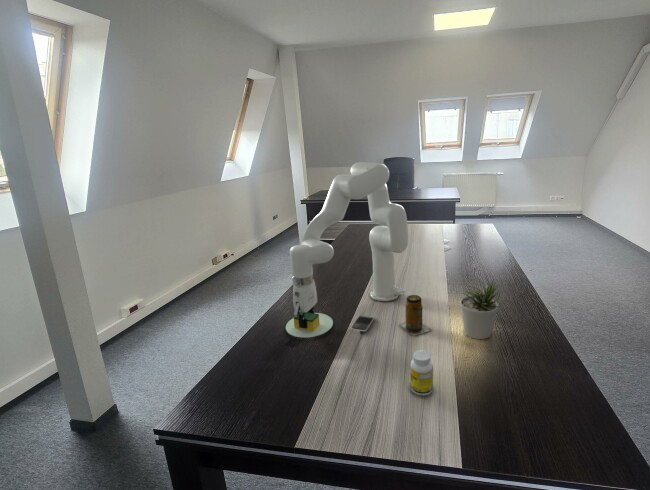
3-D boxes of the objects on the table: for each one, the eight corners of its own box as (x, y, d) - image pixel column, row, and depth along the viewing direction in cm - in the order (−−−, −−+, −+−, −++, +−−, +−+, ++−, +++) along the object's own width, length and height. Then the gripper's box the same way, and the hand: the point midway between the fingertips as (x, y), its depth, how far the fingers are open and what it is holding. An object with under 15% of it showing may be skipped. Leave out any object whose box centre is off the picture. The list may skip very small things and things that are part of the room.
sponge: (319, 324, 136) (318, 313, 135) (313, 331, 132) (312, 320, 131) (301, 321, 139) (300, 310, 138) (294, 327, 135) (293, 317, 134)
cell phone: (349, 332, 133) (349, 328, 132) (360, 317, 142) (360, 314, 142) (365, 334, 130) (365, 331, 130) (375, 319, 140) (375, 316, 140)
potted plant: (480, 348, 119) (483, 293, 113) (451, 330, 130) (452, 278, 125) (507, 337, 124) (511, 284, 118) (476, 320, 136) (479, 271, 130)
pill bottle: (408, 382, 105) (407, 349, 102) (429, 380, 105) (429, 347, 102) (413, 397, 99) (413, 363, 96) (435, 395, 99) (436, 360, 96)
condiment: (416, 320, 138) (416, 291, 134) (430, 330, 131) (430, 300, 127) (400, 325, 135) (399, 296, 131) (413, 336, 128) (413, 305, 124)
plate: (340, 319, 142) (340, 316, 142) (319, 344, 126) (319, 341, 126) (301, 312, 149) (300, 310, 148) (276, 335, 133) (276, 332, 132)
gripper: (300, 290, 121) (304, 337, 126) (322, 271, 136) (326, 314, 142) (281, 287, 124) (286, 334, 129) (305, 269, 139) (309, 312, 144)
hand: (307, 323), depth 135 cm, fingers closed on sponge, 5 cm apart
